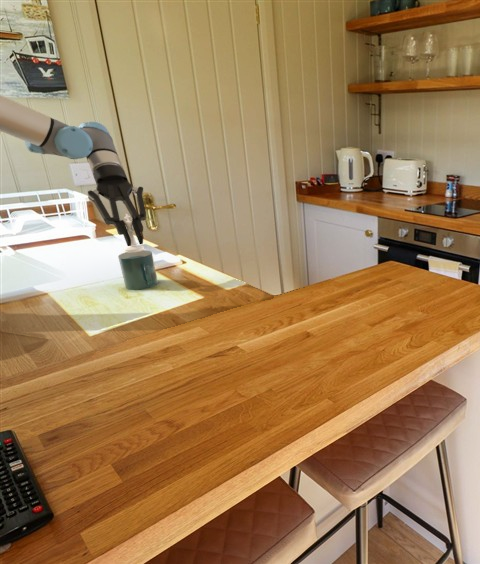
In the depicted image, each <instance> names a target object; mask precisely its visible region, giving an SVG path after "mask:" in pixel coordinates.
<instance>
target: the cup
mask: <svg viewBox="0 0 480 564" xmlns="http://www.w3.org/2000/svg"><path fill="white" fill-rule="evenodd" d="M117 258H118V262H119V266H120V271H121V275H122V278H123V282H124V287H125V289H126V290H130V291H139V290H146V289H149V288H152V287H155V286H156V285H158V283H159V281H158V276H157V271H156V266H155V261H154V256H153V252H152V251H151V250H146V249H144V250H142V251H139V252H132V253H127V252H123V253H120V254H119V255H118V257H117Z"/></svg>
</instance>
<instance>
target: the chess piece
mask: <svg viewBox="0 0 480 564" xmlns="http://www.w3.org/2000/svg"><path fill="white" fill-rule="evenodd" d="M124 215H125V216H123V220H124V223H125V226H126V228H127V231H128V234H129V236H130V239H131V246H127V245H126V246H125V247H123V253H125V252H127V253H132V252H139V251H142V250H146V249H145V246H144V245H143V244H139V242H138V243H137V241H136V238H135V235H134V232H135V231H134V228H133V226H132V219H130V218H131V215H129V214H128V213H125V214H124Z"/></svg>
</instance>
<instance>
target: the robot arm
mask: <svg viewBox="0 0 480 564" xmlns="http://www.w3.org/2000/svg"><path fill="white" fill-rule="evenodd" d="M0 132H2V133H4V134H6V135H9V136H11V137H12V136H13V137H14V138H16V139H19V140H22V141H24V143H25V146H26V149H27V150H28V151H29V152H31V153H33V154H41V155H52V156H58V157H65V158H67V159H69V160H80V159H84V158H86V160H87V162H88V165H89V168H90V170H91V173H92V176H93V179H94V181H95V183H96V187H95V188H96V189H94V190H92V189H91V190H88V191H87V197H88V200H90V201H91V202H92V203H93V204H94V206H95V207H96V209H97V210H98V213H99V214H100V216H101V218H102V220H103V221H104V223H105V224H106V225H108V226H110V225H113V226H114V227H115V228H116V232H117V234H118V235H120V236H121V235H123V237H124V240H125V243H126V247H127V246H131V239H130V236H129V234H128V231H127V227H126V225H125V223H124V221H125V219H121V218H120V214H119V210H118V205H117V202H118V201H120V202H122V204H123V205H124V206H125V208H126V209H127V211H128V213H129V216H130V218H131V221H132V229H134V231H133V232H134V233H135V236H136V239H137V241H138V245H143V244H144V236H143V234H142V233H143V232H144V226H143V223H142V222H143V221H146V219H147V212H146V206H145V203H144V197H143V196H144V187H143V186H138V187H136V186H133V185H132V184H131V183H130V181H129V179H128V177H127V173H126V172H125V169H124V166H123V164H122V161H121V159H120V157H119V154H118V151H117V149H116V146H115V144H114V140H113V137H112V136H111V134H110V132H109V130H108V128H107V127H106V126H105V125H104V124H102V123H100V122H97V121H88V122H82V123H80V124H79V125H78V126H73V125H68V124H66V123H64V122H62V121H60V120H58V119H55V118H52V117H50V116H49V115H46V114H44V113H42V112H40V111H37V110H35V109H33V108H31V107H29V106H27V105H25V104H22V103H20V102H18V101H15V100H14V99H11V98H8V97H7V96H4V95H2V94H0ZM132 193H133V195H134V196H135V197H136V203H137V207H138V211H137V209H136V207H135V205H134V203H133V201H132V200H131V198H130V195H131V194H132ZM100 196H101V197H103V198H104V199H106V200H108V202H109V206H110V207H109V208H110V210H111V215H110V213H109V212H108V210H107V208H106V206H105V204H104V202H103V201H102V200H101V197H100ZM138 212H139V213H138Z"/></svg>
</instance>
